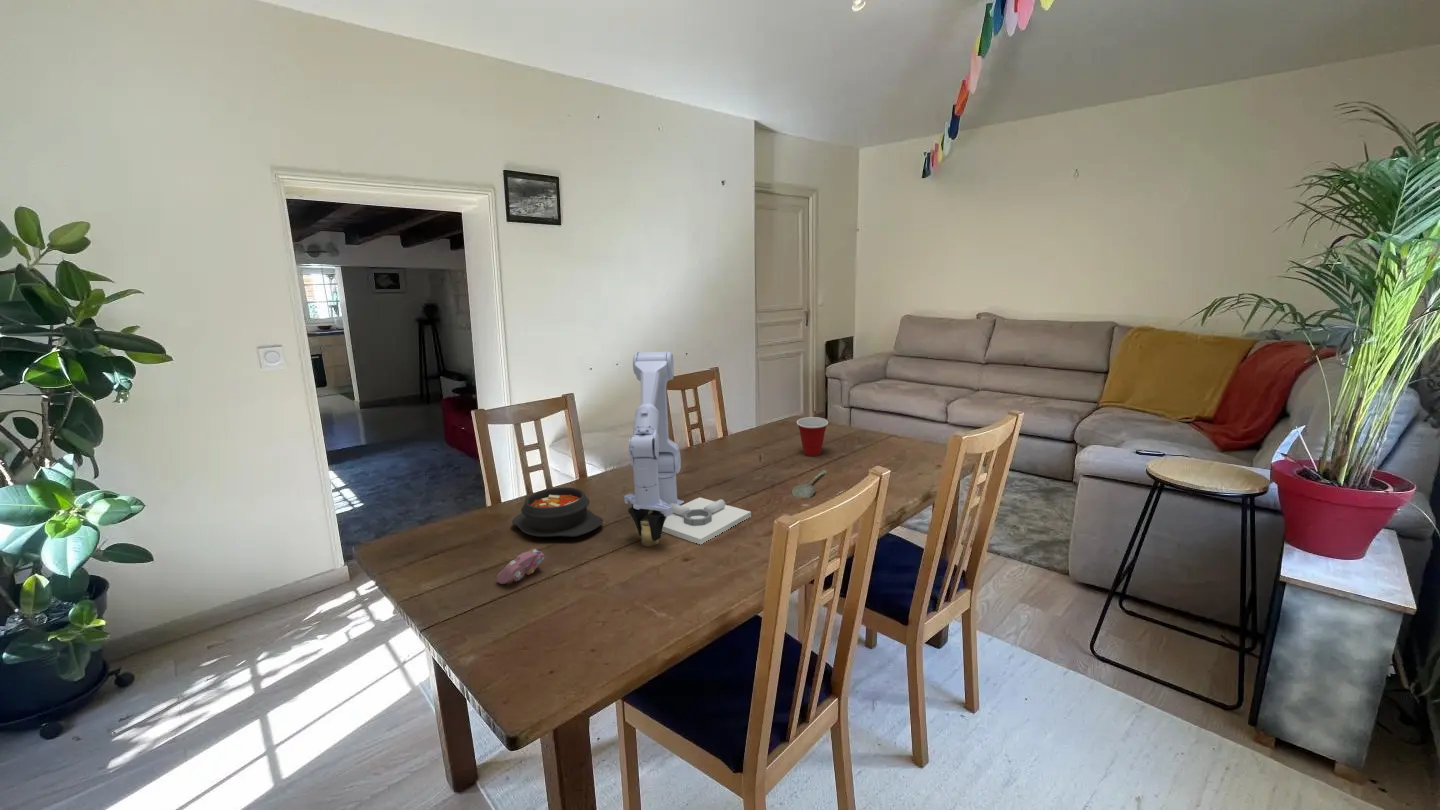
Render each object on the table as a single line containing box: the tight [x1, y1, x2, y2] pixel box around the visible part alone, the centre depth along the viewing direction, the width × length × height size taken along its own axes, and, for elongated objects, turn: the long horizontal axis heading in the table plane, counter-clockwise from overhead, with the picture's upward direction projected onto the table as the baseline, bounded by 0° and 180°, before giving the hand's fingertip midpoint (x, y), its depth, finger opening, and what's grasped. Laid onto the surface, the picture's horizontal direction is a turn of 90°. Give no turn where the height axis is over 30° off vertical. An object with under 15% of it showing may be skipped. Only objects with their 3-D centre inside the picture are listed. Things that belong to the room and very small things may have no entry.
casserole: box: [511, 487, 604, 538], centre depth 153 cm, size 25×19×8 cm
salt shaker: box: [640, 516, 659, 547], centre depth 143 cm, size 4×4×6 cm
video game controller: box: [496, 548, 546, 585], centre depth 128 cm, size 10×5×7 cm, turn 148°
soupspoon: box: [791, 469, 828, 499], centre depth 177 cm, size 22×3×7 cm
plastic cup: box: [796, 416, 829, 457], centre depth 206 cm, size 11×11×12 cm
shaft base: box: [662, 496, 752, 546], centre depth 154 cm, size 18×20×4 cm
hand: (649, 536), depth 143 cm, fingers closed on salt shaker, 4 cm apart
